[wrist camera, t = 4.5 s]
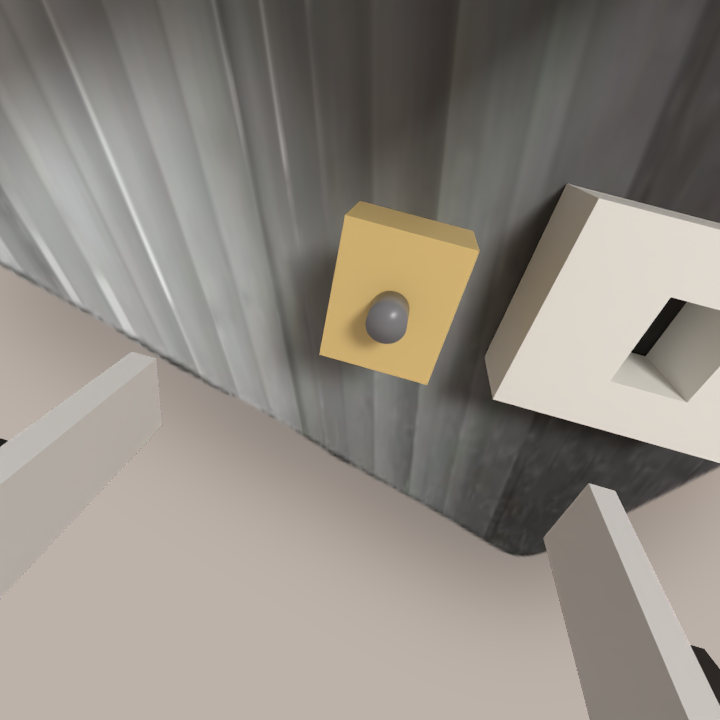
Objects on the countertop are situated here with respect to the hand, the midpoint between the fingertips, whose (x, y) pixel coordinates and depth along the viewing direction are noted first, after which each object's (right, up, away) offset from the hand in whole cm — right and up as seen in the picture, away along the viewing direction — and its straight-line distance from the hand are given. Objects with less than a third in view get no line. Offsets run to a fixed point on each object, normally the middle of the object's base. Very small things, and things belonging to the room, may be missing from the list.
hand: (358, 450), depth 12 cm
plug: (+4, +11, +18) cm, 21 cm away
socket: (+21, +6, +17) cm, 28 cm away
